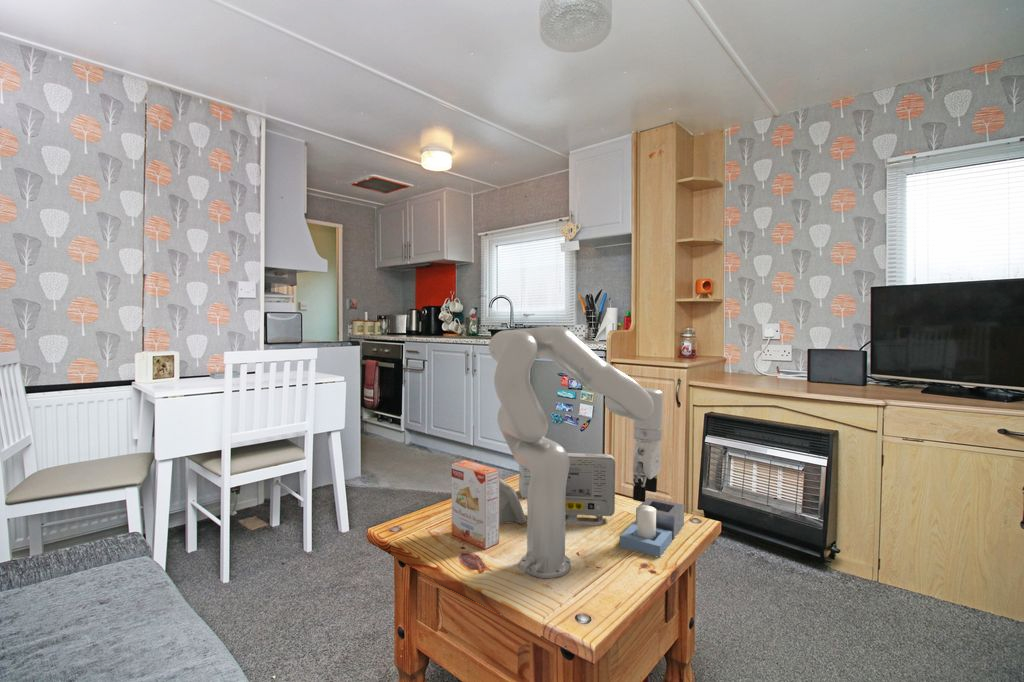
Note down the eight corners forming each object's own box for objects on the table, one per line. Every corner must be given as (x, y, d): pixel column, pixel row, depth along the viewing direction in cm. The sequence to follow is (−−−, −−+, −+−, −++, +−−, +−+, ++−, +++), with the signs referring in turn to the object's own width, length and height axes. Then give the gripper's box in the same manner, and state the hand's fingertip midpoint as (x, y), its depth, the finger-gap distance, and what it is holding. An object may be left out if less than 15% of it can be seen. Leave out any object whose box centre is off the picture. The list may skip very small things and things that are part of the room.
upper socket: (673, 539, 139) (674, 516, 139) (635, 530, 145) (636, 508, 145) (683, 526, 148) (684, 504, 148) (647, 518, 154) (648, 497, 154)
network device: (612, 514, 157) (613, 452, 156) (615, 526, 148) (616, 460, 148) (532, 511, 160) (532, 450, 159) (530, 522, 151) (531, 457, 150)
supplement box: (518, 491, 178) (518, 456, 178) (538, 490, 179) (539, 456, 179) (521, 498, 171) (521, 462, 171) (542, 497, 172) (542, 461, 171)
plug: (652, 550, 133) (652, 513, 132) (634, 545, 135) (634, 509, 135) (657, 543, 137) (658, 507, 136) (640, 539, 139) (640, 504, 139)
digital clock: (526, 526, 148) (527, 491, 148) (497, 528, 146) (497, 492, 146) (516, 506, 164) (517, 474, 164) (490, 507, 162) (490, 476, 162)
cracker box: (450, 535, 141) (450, 463, 140) (466, 529, 145) (466, 458, 145) (484, 551, 132) (484, 473, 131) (500, 543, 136) (500, 468, 135)
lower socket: (660, 557, 128) (660, 546, 128) (619, 546, 134) (619, 536, 134) (671, 542, 138) (671, 531, 137) (633, 532, 144) (633, 522, 144)
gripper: (651, 441, 126) (648, 508, 126) (670, 430, 140) (667, 490, 140) (622, 437, 130) (620, 501, 130) (644, 427, 144) (641, 485, 145)
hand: (645, 495), depth 135 cm, fingers open, 9 cm apart
